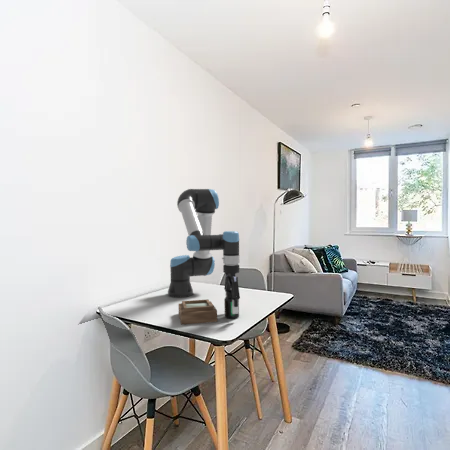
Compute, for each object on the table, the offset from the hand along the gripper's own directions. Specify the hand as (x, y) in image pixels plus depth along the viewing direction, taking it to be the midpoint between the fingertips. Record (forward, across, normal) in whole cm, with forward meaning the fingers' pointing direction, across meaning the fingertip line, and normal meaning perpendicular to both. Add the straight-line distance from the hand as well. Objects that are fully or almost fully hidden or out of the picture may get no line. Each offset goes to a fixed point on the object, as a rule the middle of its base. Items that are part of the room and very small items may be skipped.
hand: (231, 309), depth 148 cm
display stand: (+3, -3, -16) cm, 17 cm away
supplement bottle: (+4, 0, 0) cm, 4 cm away
